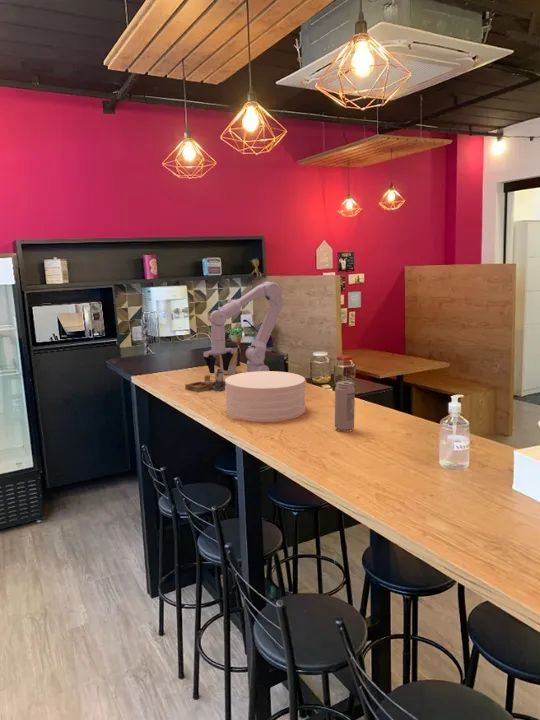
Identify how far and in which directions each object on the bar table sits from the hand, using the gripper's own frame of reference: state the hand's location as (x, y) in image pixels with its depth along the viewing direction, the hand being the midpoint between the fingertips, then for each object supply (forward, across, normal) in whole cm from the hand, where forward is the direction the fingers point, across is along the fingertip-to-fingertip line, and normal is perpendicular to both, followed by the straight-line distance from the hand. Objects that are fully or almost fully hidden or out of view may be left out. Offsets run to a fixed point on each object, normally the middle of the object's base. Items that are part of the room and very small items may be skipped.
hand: (218, 371), depth 232 cm
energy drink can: (+6, +13, +74) cm, 76 cm away
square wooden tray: (+6, +8, -3) cm, 11 cm away
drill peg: (+6, 0, 0) cm, 6 cm away
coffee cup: (+6, -22, -18) cm, 29 cm away
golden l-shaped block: (+6, 0, -5) cm, 8 cm away
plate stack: (+7, +14, +40) cm, 43 cm away
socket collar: (+6, 0, 0) cm, 6 cm away
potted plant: (+7, -34, -31) cm, 46 cm away
